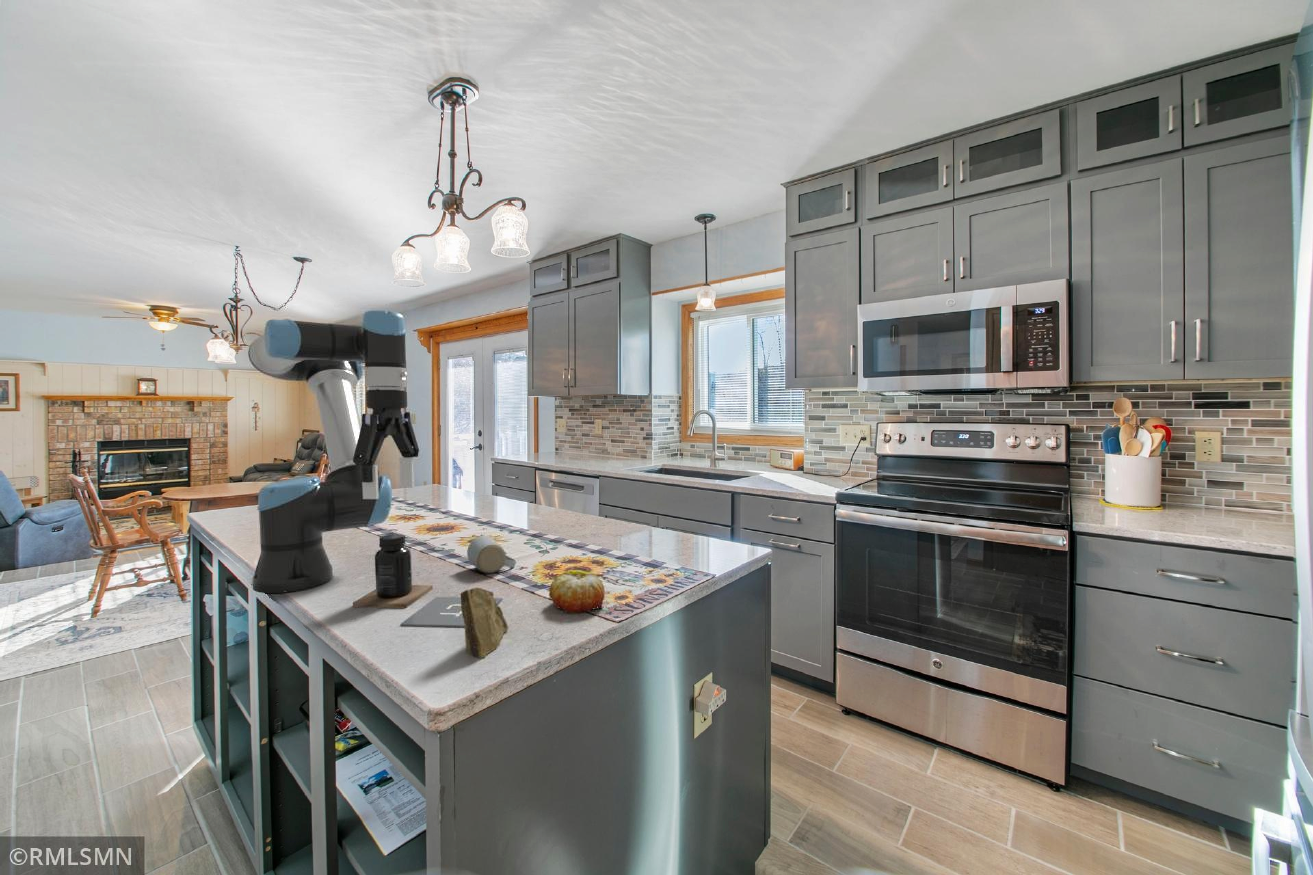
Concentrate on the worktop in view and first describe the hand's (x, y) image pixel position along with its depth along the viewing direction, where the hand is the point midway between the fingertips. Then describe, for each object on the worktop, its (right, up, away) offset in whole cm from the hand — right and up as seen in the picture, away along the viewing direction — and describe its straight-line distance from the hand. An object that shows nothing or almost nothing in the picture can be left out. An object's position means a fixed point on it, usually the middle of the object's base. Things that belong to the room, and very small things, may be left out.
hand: (390, 492), depth 114 cm
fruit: (+39, -22, -4) cm, 45 cm away
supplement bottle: (0, -21, +1) cm, 21 cm away
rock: (+27, -23, -20) cm, 41 cm away
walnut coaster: (0, -22, +1) cm, 22 cm away
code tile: (+16, -22, -7) cm, 28 cm away
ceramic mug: (+15, -21, +21) cm, 33 cm away
